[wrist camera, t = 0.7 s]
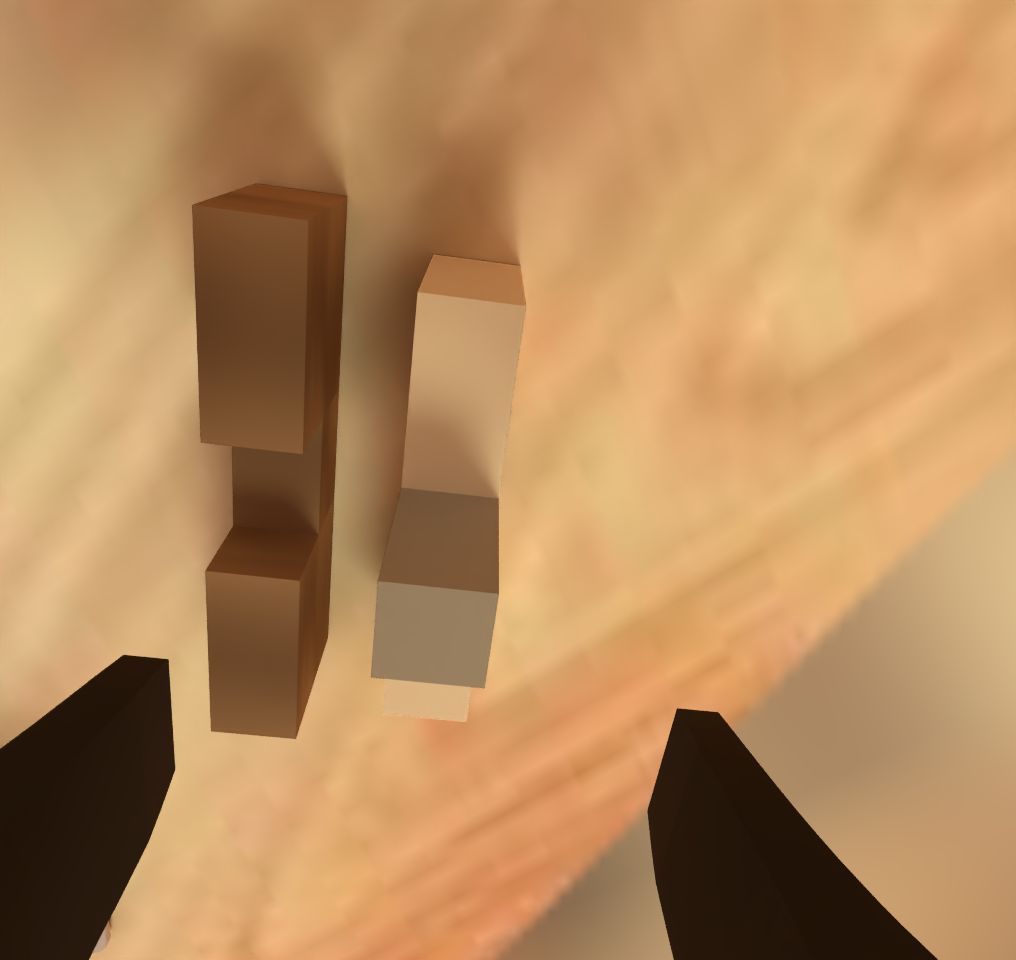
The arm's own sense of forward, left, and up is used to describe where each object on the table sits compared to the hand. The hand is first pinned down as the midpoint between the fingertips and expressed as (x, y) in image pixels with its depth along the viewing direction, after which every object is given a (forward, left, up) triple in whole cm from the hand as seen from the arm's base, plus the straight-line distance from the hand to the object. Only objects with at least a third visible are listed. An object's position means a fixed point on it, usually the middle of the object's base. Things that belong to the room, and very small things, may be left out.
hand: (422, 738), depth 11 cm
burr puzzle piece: (0, 0, -10) cm, 10 cm away
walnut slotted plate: (-4, 0, -10) cm, 11 cm away
